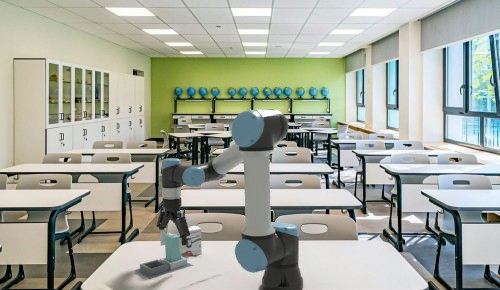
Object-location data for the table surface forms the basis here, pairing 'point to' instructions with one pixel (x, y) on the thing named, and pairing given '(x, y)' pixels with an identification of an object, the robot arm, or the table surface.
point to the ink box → (193, 241)
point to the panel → (161, 267)
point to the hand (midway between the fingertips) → (173, 248)
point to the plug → (172, 247)
